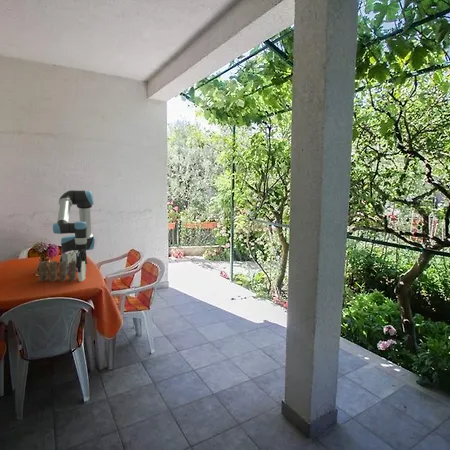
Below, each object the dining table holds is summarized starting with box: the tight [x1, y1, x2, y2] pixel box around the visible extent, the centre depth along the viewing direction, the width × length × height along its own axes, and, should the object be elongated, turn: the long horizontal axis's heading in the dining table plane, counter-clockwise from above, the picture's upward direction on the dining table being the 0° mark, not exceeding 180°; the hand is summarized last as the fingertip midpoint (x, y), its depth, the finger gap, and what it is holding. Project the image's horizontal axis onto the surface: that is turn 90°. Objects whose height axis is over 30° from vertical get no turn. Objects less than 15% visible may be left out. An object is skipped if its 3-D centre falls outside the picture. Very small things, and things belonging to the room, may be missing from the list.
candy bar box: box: [61, 250, 78, 276], centre depth 240 cm, size 11×5×16 cm, turn 168°
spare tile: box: [78, 261, 86, 282], centre depth 223 cm, size 2×7×13 cm, turn 7°
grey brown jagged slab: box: [58, 261, 68, 282], centre depth 222 cm, size 2×7×13 cm, turn 7°
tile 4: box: [68, 261, 77, 282], centre depth 222 cm, size 2×7×13 cm, turn 7°
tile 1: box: [38, 260, 49, 283], centre depth 220 cm, size 2×7×13 cm, turn 6°
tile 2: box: [48, 260, 58, 283], centre depth 221 cm, size 2×7×13 cm, turn 7°
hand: (82, 274), depth 223 cm, fingers open, 8 cm apart
